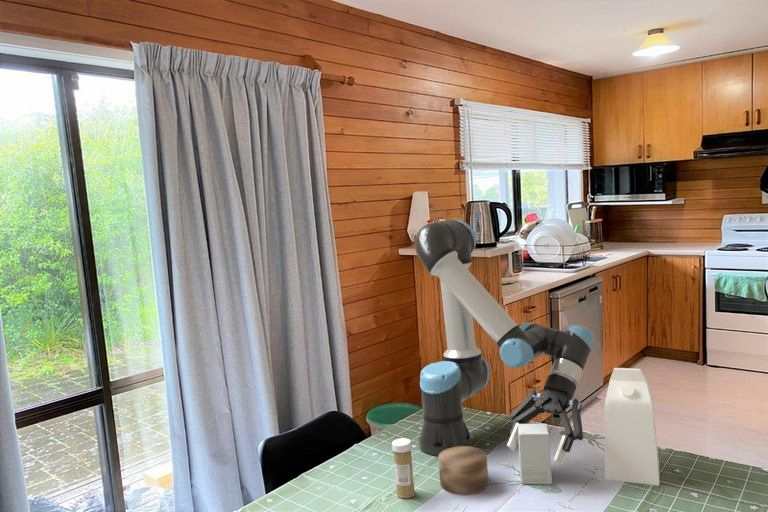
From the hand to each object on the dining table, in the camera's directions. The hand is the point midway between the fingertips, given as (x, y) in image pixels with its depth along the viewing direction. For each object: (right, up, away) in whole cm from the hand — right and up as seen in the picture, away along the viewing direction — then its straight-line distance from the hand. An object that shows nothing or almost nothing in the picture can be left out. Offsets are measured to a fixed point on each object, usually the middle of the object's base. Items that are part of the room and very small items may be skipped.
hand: (532, 455), depth 142 cm
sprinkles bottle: (-31, -9, -2) cm, 33 cm away
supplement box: (+1, -6, +2) cm, 7 cm away
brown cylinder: (-17, -8, +2) cm, 18 cm away
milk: (+25, -4, +1) cm, 25 cm away
